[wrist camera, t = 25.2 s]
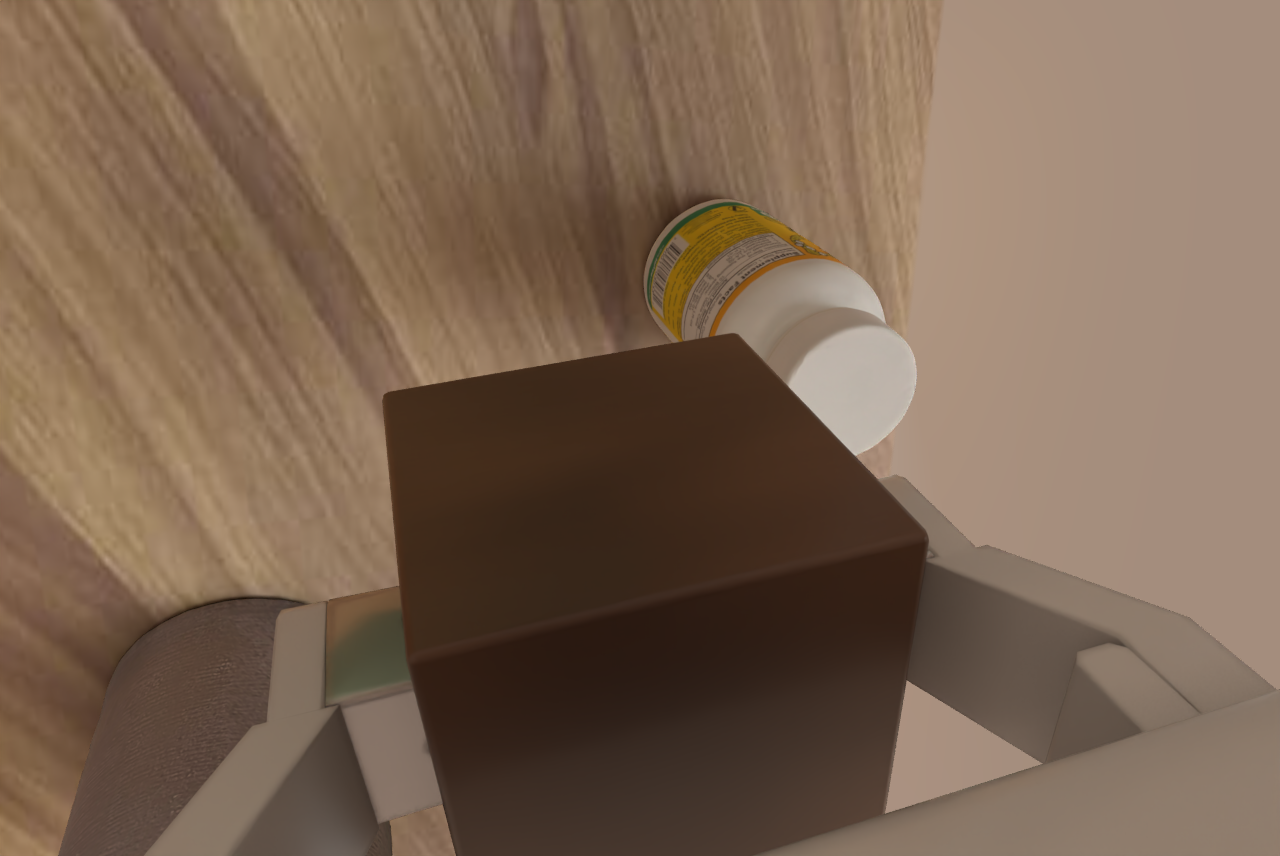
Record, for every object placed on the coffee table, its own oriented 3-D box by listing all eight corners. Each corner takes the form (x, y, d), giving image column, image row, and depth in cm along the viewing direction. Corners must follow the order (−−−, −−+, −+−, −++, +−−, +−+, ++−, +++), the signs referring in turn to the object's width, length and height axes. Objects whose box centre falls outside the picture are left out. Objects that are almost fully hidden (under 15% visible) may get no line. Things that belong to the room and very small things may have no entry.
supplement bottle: (616, 240, 29) (726, 361, 21) (758, 167, 29) (920, 258, 21) (672, 368, 32) (786, 515, 24) (800, 301, 32) (956, 424, 24)
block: (737, 329, 11) (935, 533, 8) (733, 593, 14) (883, 848, 10) (380, 390, 10) (404, 660, 7) (442, 663, 13) (486, 978, 9)
